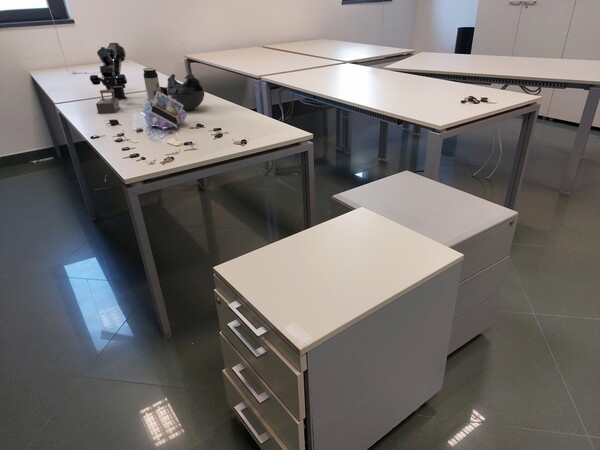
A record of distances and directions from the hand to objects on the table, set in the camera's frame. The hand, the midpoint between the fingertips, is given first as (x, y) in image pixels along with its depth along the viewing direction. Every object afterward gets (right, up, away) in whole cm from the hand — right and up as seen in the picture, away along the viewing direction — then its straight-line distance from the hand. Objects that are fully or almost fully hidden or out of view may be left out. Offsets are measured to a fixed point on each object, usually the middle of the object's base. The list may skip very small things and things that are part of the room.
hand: (108, 92), depth 235 cm
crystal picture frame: (+42, -25, -27) cm, 56 cm away
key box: (+1, -11, -2) cm, 11 cm away
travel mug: (+19, +2, +20) cm, 28 cm away
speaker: (+28, -6, +7) cm, 30 cm away
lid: (+1, -7, -5) cm, 8 cm away
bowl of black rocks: (+45, -10, -1) cm, 46 cm away
